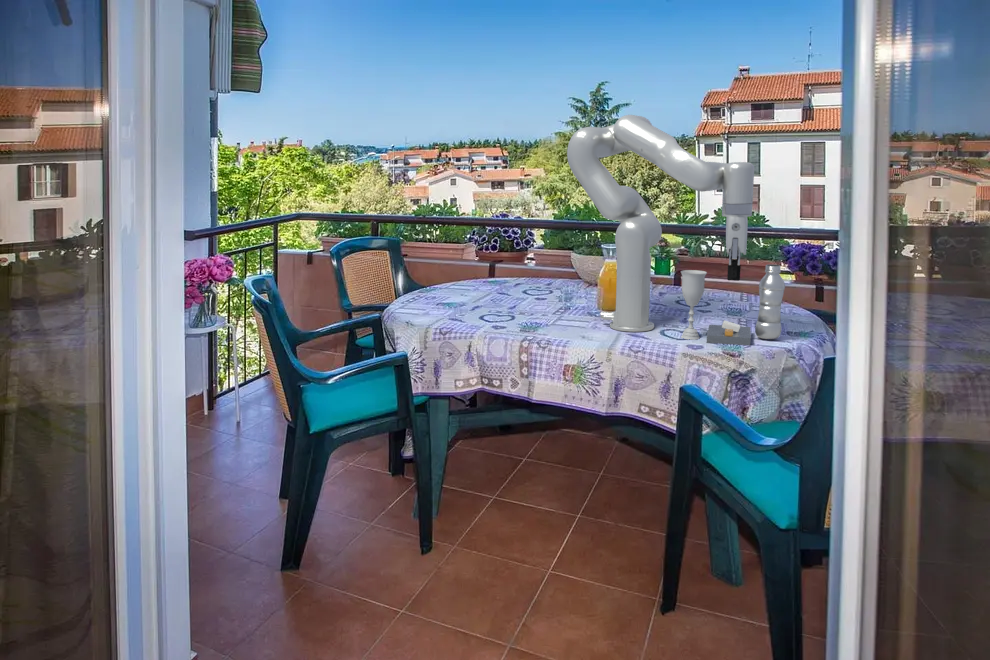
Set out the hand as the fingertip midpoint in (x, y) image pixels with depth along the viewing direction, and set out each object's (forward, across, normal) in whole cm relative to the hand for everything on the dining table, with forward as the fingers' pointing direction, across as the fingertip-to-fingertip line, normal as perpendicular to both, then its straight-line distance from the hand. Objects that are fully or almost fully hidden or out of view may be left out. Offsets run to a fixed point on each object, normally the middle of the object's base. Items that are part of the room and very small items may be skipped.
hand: (733, 279), depth 203 cm
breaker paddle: (+14, 0, 0) cm, 14 cm away
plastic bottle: (+16, +2, -10) cm, 19 cm away
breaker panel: (+16, 0, 0) cm, 16 cm away
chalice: (+16, -2, +10) cm, 19 cm away
